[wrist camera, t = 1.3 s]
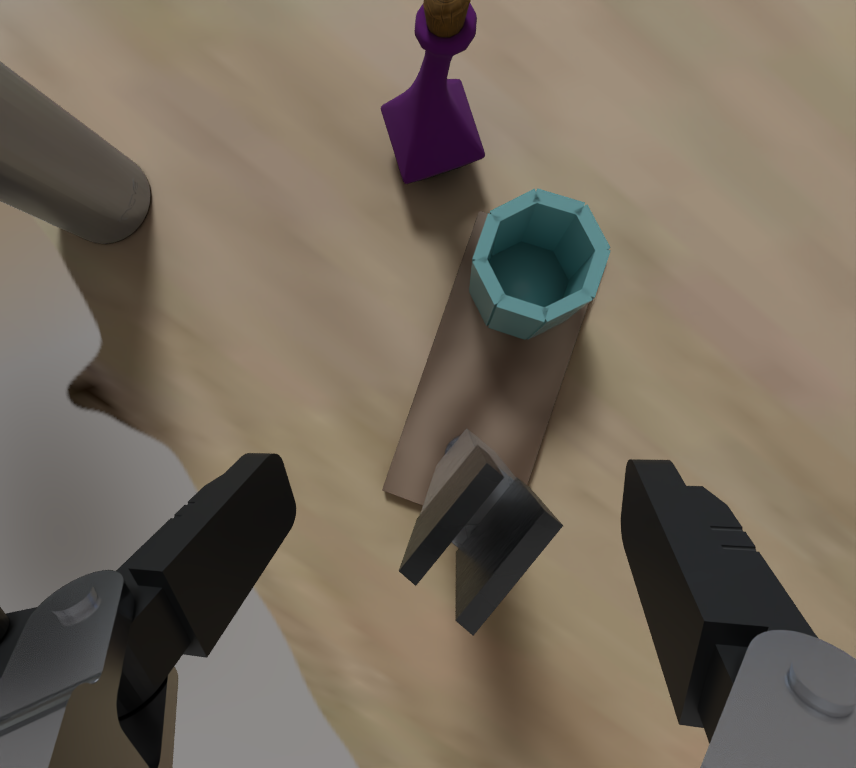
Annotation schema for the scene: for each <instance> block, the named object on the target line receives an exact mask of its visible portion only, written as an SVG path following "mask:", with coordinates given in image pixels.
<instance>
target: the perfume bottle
mask: <svg viewBox="0 0 856 768" xmlns="http://www.w3.org/2000/svg"><path fill="white" fill-rule="evenodd" d="M476 22H477V17H476V13H475V11H474V9H473V7H472V5H471V4H470V0H424V3H423V5H422V6H421V8H420V9H419V11H418V12H417V15H416V21H415V36H416V38H417V40H418V42H419V43H420V45H421V47H422V48H423V49H424V50H426V51H425V57H424V60H423V63H422V66H421V68H420V71H419V73H418V76H417V78H416V80H415V81H414V83H413V84H412V86H411V87H410V88H409V89H408V90H406V91H405V92H404V93H402V94H401V95H399V96H397V97H396V98H394V99H392V100H391V101H389V102H387V103H385V104H384V105H382V106H381V112H382V115H383V118H384V121H385V125H386V128H387V131H388V134H389V137H390V141H391V144H392V147H393V150H394V154H395V157H396V160H397V163H398V166H399V170H400V173H401V176H402V179H403V182H404V183H405V184H408V183H412V182H416V181H420V180H423V179H426V178H429V177H432V176H435V175H438V174H441V173H444V172H447V171H450V170H453V169H456V168H459V167H462V166H464V165H467V164H469V163H472V162H475V161H477V160H480V159H482V158H484V157H485V152H484V149H483V146H482V143H481V140H480V137H479V134H478V131H477V128H476V125H475V122H474V119H473V116H472V113H471V110H470V106H469V103H468V100H467V97H466V94H465V91H464V88H463V85H462V82H461V80H460V79H447V75H448V70H449V66H450V61H451V59H452V57H453V56H454V55H456V54H458V53H460V52H462V51H464V50H466V48H467V47H468V46H469V44H470V43H471V41H472V40H473V38H474V37H475V34H476Z"/></svg>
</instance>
